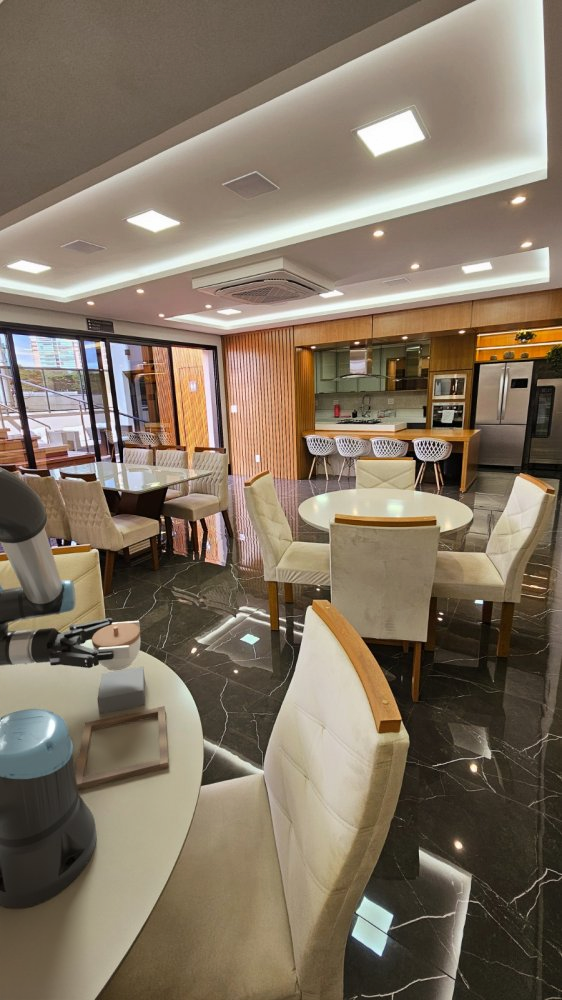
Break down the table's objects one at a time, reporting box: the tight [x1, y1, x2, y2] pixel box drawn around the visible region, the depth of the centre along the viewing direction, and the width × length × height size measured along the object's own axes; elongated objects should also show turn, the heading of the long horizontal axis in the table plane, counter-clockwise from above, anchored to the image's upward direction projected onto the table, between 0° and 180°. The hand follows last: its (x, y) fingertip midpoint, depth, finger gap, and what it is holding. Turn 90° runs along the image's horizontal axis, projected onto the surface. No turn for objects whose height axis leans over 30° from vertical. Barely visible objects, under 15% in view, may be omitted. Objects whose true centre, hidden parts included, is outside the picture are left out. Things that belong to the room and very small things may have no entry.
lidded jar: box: [91, 623, 141, 672], centre depth 103 cm, size 11×11×9 cm
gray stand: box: [97, 666, 146, 715], centre depth 106 cm, size 10×10×4 cm
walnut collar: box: [75, 705, 169, 791], centre depth 90 cm, size 17×17×1 cm
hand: (134, 638), depth 103 cm, fingers closed on lidded jar, 11 cm apart
